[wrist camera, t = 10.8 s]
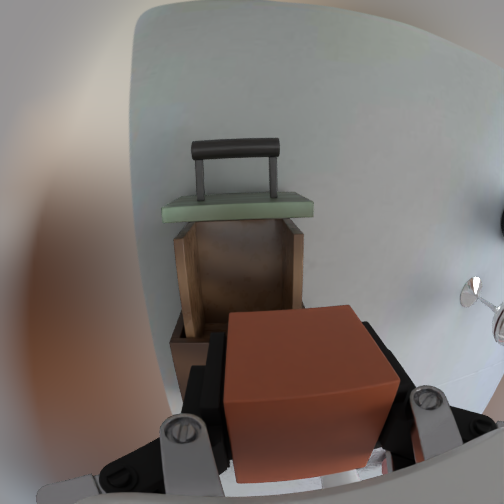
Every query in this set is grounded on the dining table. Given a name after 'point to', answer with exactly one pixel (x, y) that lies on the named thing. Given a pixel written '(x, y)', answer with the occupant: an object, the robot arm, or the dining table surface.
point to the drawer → (237, 243)
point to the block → (303, 393)
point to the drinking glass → (340, 479)
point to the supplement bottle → (502, 224)
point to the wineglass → (471, 292)
